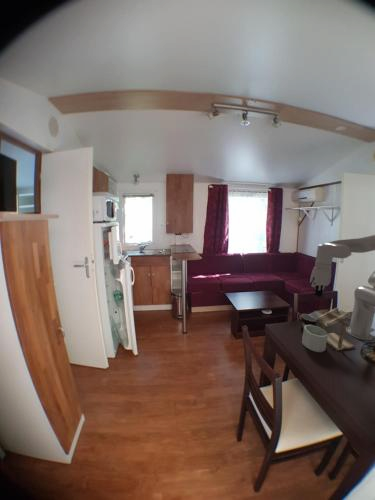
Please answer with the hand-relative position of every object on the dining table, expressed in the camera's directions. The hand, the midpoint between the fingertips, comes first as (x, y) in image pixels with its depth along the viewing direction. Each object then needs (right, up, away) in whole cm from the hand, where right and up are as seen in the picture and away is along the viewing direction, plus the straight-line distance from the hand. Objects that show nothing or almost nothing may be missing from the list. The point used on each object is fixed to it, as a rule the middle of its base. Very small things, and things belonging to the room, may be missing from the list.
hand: (318, 295), depth 110 cm
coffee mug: (0, -25, +11) cm, 28 cm away
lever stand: (+11, -28, +1) cm, 30 cm away
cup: (-5, -28, -3) cm, 28 cm away
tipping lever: (+7, -15, 0) cm, 17 cm away
